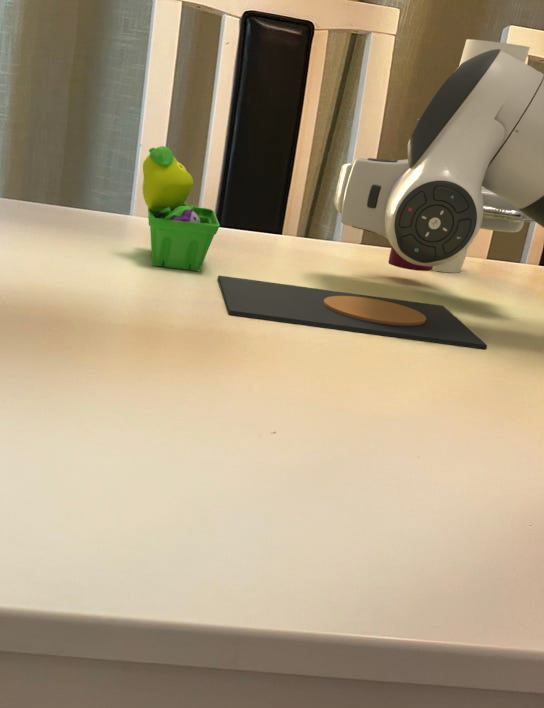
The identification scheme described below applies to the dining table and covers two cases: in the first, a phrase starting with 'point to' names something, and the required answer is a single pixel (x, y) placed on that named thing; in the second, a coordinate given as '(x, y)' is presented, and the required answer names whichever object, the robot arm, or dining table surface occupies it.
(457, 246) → the robot arm
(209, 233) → the fruit basket
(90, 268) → the dining table surface
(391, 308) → the placemat
